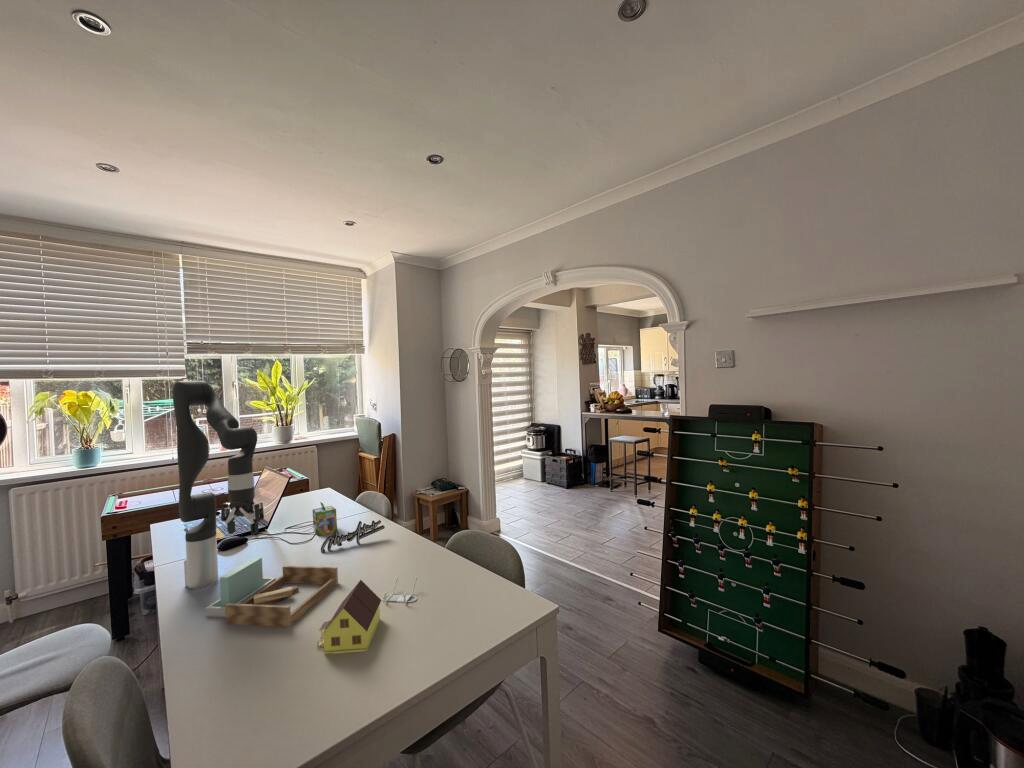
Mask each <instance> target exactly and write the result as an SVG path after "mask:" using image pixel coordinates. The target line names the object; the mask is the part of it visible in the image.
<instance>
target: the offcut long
mask: <svg viewBox="0 0 1024 768" xmlns="http://www.w3.org/2000/svg"><path fill="white" fill-rule="evenodd" d="M291 587H292V595H293V593H294V594H295V592H296V593H298V592H299V589H300V588H299V586H297V585H292V586H291ZM297 591H298V592H297ZM285 598H286V597H282V598H278V599H274V600H270V601H265V602H261V603H257V604H256V605H274V604H275V603H277V602H279V601H281V600H284V599H285Z"/></svg>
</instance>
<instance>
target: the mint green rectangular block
mask: <svg viewBox="0 0 1024 768" xmlns="http://www.w3.org/2000/svg"><path fill="white" fill-rule="evenodd" d="M263 572H264V571H263V557H257V556H256V557H255V556H254V557H252V558H251V559H249V560H248V561H245V562H244V563H242V564H241V565H238V566H237V567H235V568H234V569H232V570H230V571H228V572H226V573H225V574H223V575H221V576H219V594H220V599H221V607H225V605H226V604H227V603H232V604H236V603H237V602H239V601H240V600H242V599H243V598H245V597H246V596H248V595H249V594H250V593H252V592H253V591H255V590H256V589H258V588H259V587H261V586H262V585H263V577H264V575H263V574H264V573H263Z"/></svg>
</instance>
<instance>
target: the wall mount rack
mask: <svg viewBox="0 0 1024 768" xmlns="http://www.w3.org/2000/svg"><path fill="white" fill-rule="evenodd" d="M398 579H399V577H398V576H396V578H395V582H394V586H393V589H392V593H391V594H388V595H387V593H388V591H385V592H384V595H383V596H382V597H381V602H384V603H387V602H388V603H399V604H400V603H401V604H407V603H414V602H416V601H417V600H418V597H417V596H416V595H413V594H414V590H415V586H416V582H417V580H418V577H417V576H416V577H415V578H414V582H413V586H412V590H411V593H410V594H409V595H408V592H407V591H405V592H404V594H394V593H395V590H396V586H397V582H398ZM386 597H388V598H386ZM411 598H415V599H414V600H413V599H412V600H410V599H411Z"/></svg>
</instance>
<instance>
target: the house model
mask: <svg viewBox="0 0 1024 768" xmlns="http://www.w3.org/2000/svg"><path fill="white" fill-rule="evenodd" d="M381 603H382V598H380V597H379V596H378V595H377V594H376V593H375V592H374V591H373V590H372V589H371V588H370V587H369V586H368V585H367V584H366V583H365V582H364V581H363V580H362V579H360V580H358V582H357V584H355V586H354V587H353V588H352V590H351V591H350V592H349V593H348V595H347V596H346V597H345V598H344V599H343V600H342V602H341V604H339V606H338V609H336V611H335V613H334V614H333V616H332V618H331V619H330V620H327V621H324V622H323V624H322V625H321V626H320V628H319V629H318V632H320V634H321V635H320V636H319V637H320V639H319V640H316V647H317V648H319V647H322V648H323V652H324V655H326V654H325V653H333V654H341V653H343V654H344V653H358V652H367V651H368V649H369V647H370V644H371V642H372V639H373V637H374V634H375V632H376V630H377V627H378V624H379V623H380V620H381V617H380V616H381V614H380V612H381V610H380V605H381ZM320 641H321V642H320ZM318 645H319V647H318ZM323 646H324V647H323Z"/></svg>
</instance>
